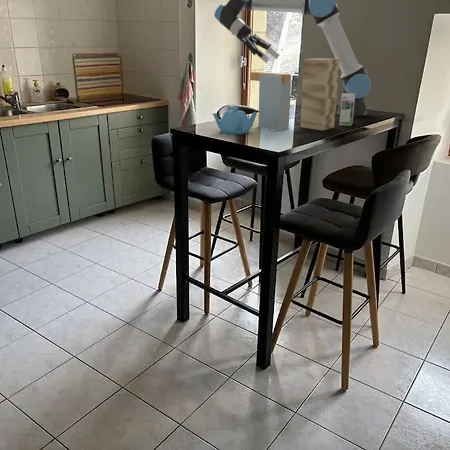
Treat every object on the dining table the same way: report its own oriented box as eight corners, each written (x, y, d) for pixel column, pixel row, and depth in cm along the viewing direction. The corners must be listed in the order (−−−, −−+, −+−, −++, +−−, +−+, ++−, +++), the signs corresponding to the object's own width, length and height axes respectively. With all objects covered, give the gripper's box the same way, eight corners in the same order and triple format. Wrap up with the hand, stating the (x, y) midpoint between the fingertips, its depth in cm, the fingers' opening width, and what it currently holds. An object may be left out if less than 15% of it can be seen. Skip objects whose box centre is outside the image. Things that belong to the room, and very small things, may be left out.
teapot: (259, 131, 207) (259, 106, 203) (240, 136, 195) (241, 111, 191) (230, 127, 215) (230, 104, 211) (211, 133, 203) (211, 108, 199)
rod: (255, 79, 216) (255, 71, 215) (289, 82, 203) (289, 74, 202) (250, 80, 214) (250, 72, 212) (284, 83, 201) (285, 74, 199)
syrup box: (338, 125, 219) (341, 93, 213) (340, 123, 224) (343, 92, 219) (351, 126, 217) (354, 94, 212) (352, 124, 222) (355, 92, 217)
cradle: (268, 125, 220) (270, 73, 211) (288, 128, 213) (291, 74, 204) (258, 127, 215) (259, 74, 206) (278, 130, 208) (280, 76, 199)
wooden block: (312, 124, 222) (317, 58, 211) (334, 127, 214) (340, 58, 203) (300, 127, 215) (304, 58, 204) (322, 130, 208) (327, 59, 196)
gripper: (247, 34, 238) (277, 61, 237) (225, 39, 218) (259, 68, 217) (255, 22, 234) (286, 49, 232) (234, 25, 214) (268, 55, 213)
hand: (273, 58), depth 225 cm, fingers open, 13 cm apart
